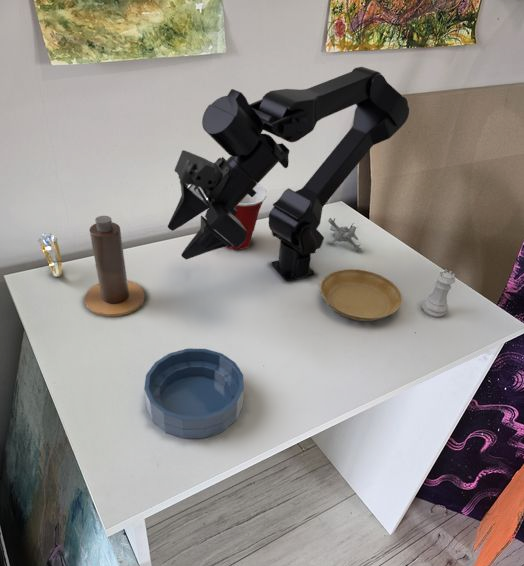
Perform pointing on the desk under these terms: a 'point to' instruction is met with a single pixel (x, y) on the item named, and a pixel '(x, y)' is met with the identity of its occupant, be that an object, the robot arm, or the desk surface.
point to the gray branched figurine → (344, 234)
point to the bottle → (109, 260)
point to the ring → (51, 253)
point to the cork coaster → (113, 310)
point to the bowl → (194, 393)
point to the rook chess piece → (439, 295)
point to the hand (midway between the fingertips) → (176, 242)
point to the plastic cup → (250, 212)
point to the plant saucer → (360, 294)
